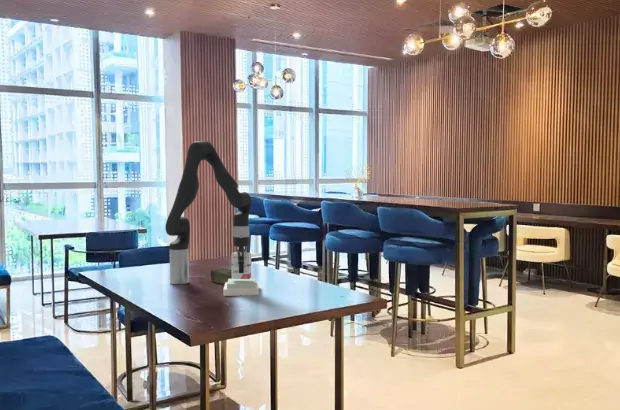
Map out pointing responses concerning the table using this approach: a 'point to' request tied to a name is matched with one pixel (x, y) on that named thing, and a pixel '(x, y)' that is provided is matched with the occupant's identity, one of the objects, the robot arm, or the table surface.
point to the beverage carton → (221, 275)
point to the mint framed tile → (241, 287)
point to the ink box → (236, 266)
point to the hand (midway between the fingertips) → (241, 271)
